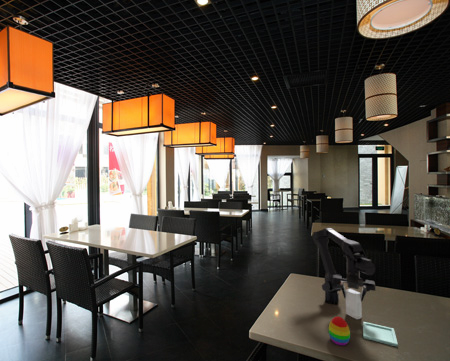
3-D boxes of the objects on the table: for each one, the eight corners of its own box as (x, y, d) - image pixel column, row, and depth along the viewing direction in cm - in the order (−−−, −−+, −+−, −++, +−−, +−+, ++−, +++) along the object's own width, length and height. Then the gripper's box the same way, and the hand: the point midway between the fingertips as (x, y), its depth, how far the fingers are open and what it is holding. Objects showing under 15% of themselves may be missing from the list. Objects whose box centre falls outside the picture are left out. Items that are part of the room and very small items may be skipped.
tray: (363, 338, 105) (363, 335, 105) (362, 324, 116) (362, 321, 116) (397, 347, 100) (397, 344, 100) (393, 331, 110) (393, 328, 110)
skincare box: (362, 317, 121) (362, 292, 121) (356, 320, 119) (356, 294, 120) (351, 311, 127) (350, 288, 127) (345, 313, 125) (344, 289, 125)
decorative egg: (324, 340, 104) (324, 316, 104) (334, 333, 109) (334, 310, 109) (343, 350, 98) (343, 325, 98) (353, 342, 103) (353, 318, 103)
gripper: (331, 270, 121) (331, 302, 121) (376, 276, 112) (376, 311, 112) (333, 263, 131) (333, 293, 130) (374, 269, 122) (374, 301, 122)
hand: (353, 299), depth 123 cm, fingers closed on skincare box, 7 cm apart
